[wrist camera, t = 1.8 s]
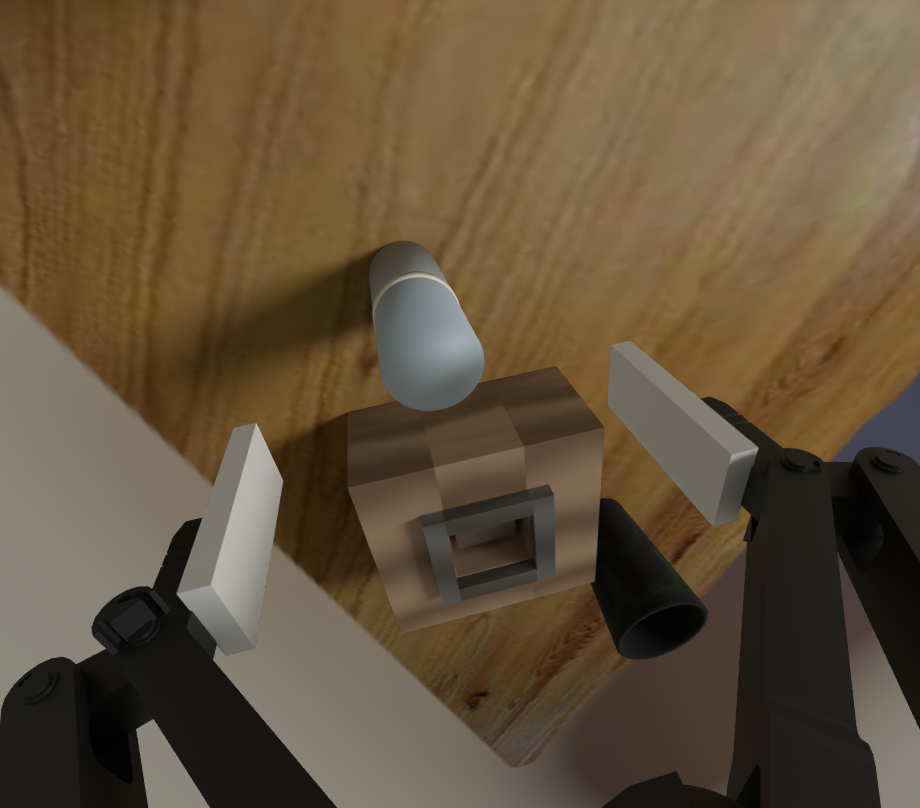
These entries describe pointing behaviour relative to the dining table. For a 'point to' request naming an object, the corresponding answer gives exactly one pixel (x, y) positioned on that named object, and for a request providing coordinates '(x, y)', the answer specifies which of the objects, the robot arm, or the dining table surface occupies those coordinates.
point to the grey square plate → (485, 534)
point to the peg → (421, 330)
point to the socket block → (479, 496)
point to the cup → (641, 590)
